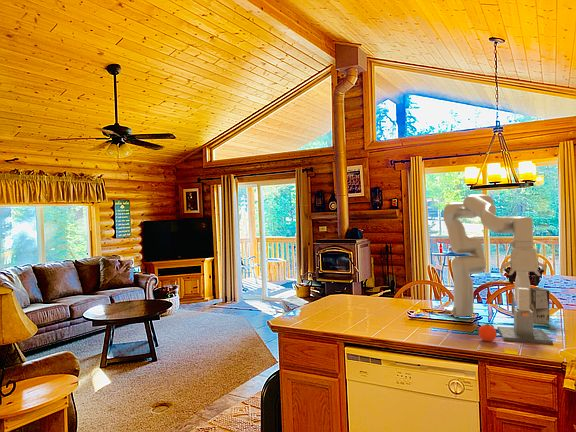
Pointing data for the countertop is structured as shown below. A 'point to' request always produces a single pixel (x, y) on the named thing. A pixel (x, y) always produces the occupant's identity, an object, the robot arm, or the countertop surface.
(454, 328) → the countertop surface
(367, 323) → the countertop surface
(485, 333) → the clementine
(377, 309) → the countertop surface
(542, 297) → the coffee box
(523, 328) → the stand
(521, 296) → the column
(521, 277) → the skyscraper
